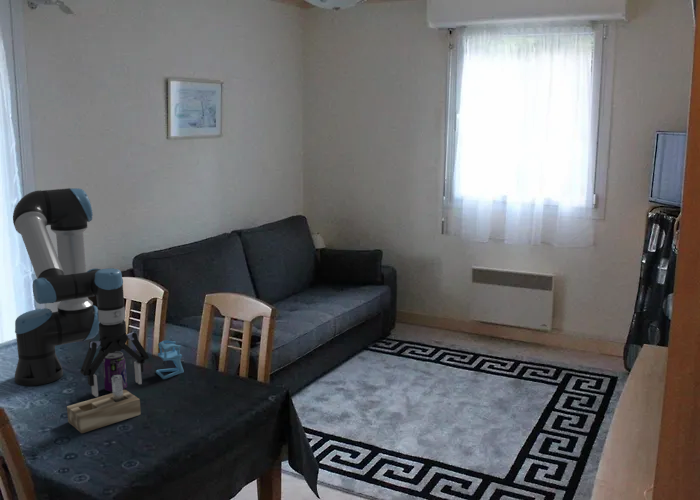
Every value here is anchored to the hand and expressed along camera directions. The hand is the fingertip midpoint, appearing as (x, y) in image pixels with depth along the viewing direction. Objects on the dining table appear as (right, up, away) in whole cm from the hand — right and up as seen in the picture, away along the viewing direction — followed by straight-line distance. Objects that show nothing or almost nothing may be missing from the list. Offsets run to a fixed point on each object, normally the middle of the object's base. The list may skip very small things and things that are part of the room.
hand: (117, 389), depth 206 cm
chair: (+7, -2, +34) cm, 34 cm away
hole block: (-3, -8, -1) cm, 9 cm away
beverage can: (-7, -4, +20) cm, 22 cm away
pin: (0, -8, +2) cm, 8 cm away
